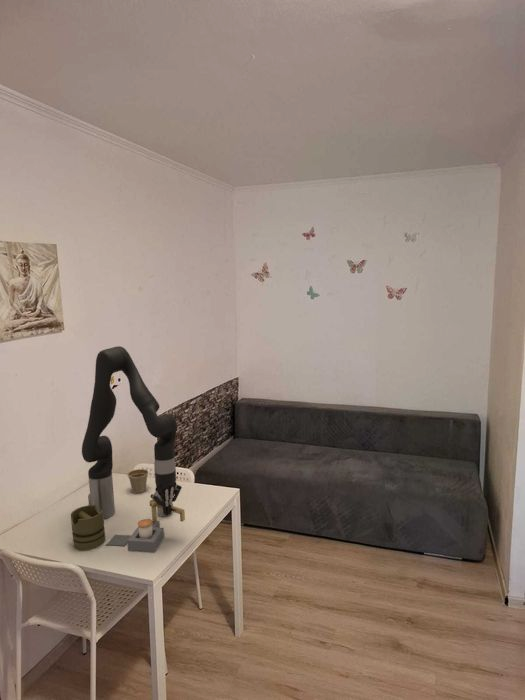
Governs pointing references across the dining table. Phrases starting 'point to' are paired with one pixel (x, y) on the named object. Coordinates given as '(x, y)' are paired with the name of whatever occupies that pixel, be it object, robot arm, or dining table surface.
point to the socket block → (147, 544)
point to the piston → (87, 528)
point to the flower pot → (138, 480)
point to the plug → (145, 528)
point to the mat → (118, 540)
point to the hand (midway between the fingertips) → (167, 514)
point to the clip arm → (174, 509)
